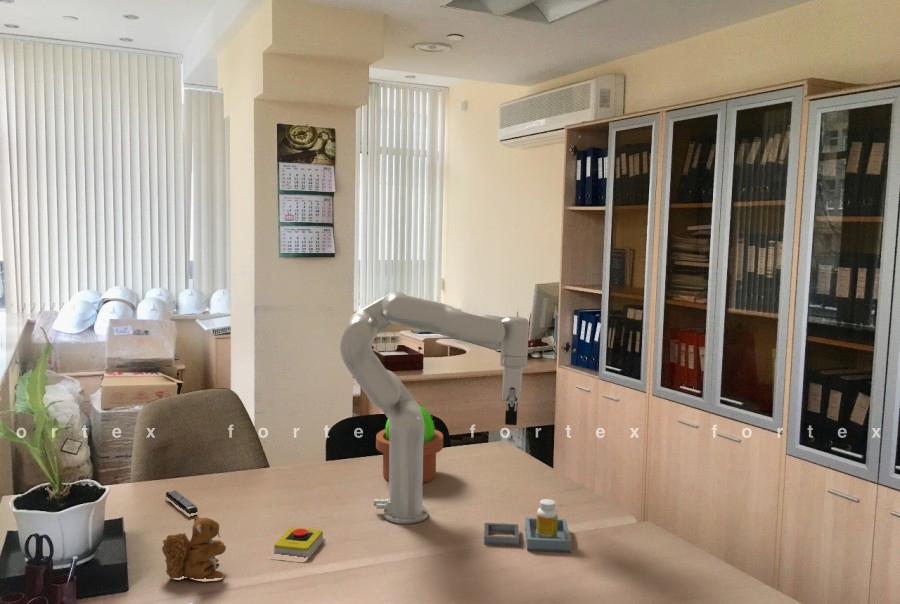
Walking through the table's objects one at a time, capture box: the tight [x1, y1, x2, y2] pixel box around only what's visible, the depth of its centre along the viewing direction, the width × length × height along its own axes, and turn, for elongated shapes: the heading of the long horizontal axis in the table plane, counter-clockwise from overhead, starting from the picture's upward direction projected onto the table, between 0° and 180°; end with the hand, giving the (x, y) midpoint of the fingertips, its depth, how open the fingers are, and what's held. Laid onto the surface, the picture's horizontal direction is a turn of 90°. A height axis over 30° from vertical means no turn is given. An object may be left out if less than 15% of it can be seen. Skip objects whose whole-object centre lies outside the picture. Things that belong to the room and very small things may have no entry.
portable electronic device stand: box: [165, 489, 198, 514], centre depth 206 cm, size 18×3×3 cm, turn 42°
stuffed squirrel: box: [161, 516, 227, 579], centre depth 166 cm, size 10×14×13 cm
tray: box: [524, 517, 572, 553], centre depth 188 cm, size 11×14×3 cm
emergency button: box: [273, 526, 324, 558], centre depth 181 cm, size 9×4×15 cm
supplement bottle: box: [536, 498, 559, 539], centre depth 188 cm, size 5×5×10 cm
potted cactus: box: [375, 404, 444, 484], centre depth 234 cm, size 22×22×25 cm
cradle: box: [483, 522, 520, 547], centre depth 189 cm, size 9×9×2 cm
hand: (511, 420), depth 203 cm, fingers open, 9 cm apart
